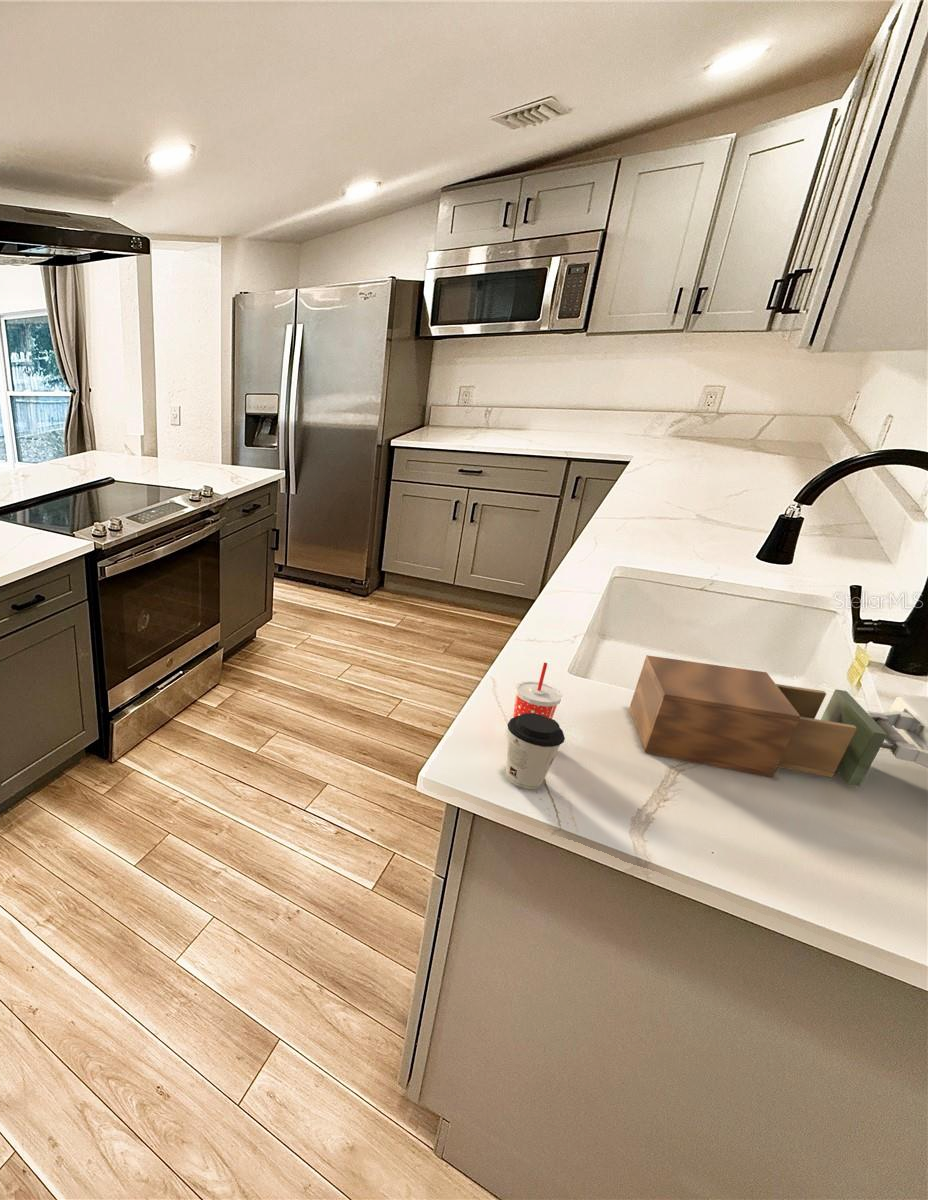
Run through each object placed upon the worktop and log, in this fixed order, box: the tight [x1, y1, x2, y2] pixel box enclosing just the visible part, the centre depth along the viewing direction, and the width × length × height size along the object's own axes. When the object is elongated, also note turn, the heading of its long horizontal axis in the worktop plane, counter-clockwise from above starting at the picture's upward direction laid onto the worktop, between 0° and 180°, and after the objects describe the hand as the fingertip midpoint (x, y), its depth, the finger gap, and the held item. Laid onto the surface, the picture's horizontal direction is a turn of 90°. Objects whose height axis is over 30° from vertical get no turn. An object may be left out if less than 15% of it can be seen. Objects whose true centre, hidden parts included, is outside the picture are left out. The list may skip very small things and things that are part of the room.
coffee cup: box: [505, 713, 566, 790], centre depth 89 cm, size 7×7×10 cm
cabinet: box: [628, 655, 800, 778], centre depth 94 cm, size 15×13×11 cm
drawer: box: [775, 683, 910, 788], centre depth 89 cm, size 18×11×9 cm, turn 62°
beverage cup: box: [512, 662, 563, 719], centre depth 96 cm, size 6×6×14 cm
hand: (878, 733), depth 85 cm, fingers closed on drawer, 6 cm apart
